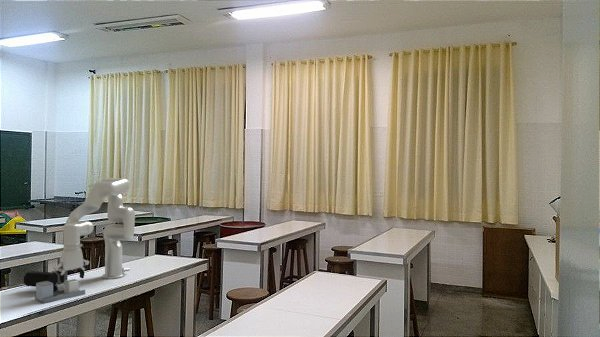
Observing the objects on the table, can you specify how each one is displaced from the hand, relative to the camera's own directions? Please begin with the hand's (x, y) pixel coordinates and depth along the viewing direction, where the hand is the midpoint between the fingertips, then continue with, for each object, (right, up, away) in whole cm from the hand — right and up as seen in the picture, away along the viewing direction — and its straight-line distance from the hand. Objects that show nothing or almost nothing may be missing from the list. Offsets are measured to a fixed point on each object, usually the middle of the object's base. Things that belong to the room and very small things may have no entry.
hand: (72, 280), depth 218 cm
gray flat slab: (-3, -7, -5) cm, 9 cm away
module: (0, -6, -1) cm, 6 cm away
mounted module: (-8, -7, -11) cm, 15 cm away
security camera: (-18, -7, +4) cm, 20 cm away
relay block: (-19, -7, +21) cm, 29 cm away
